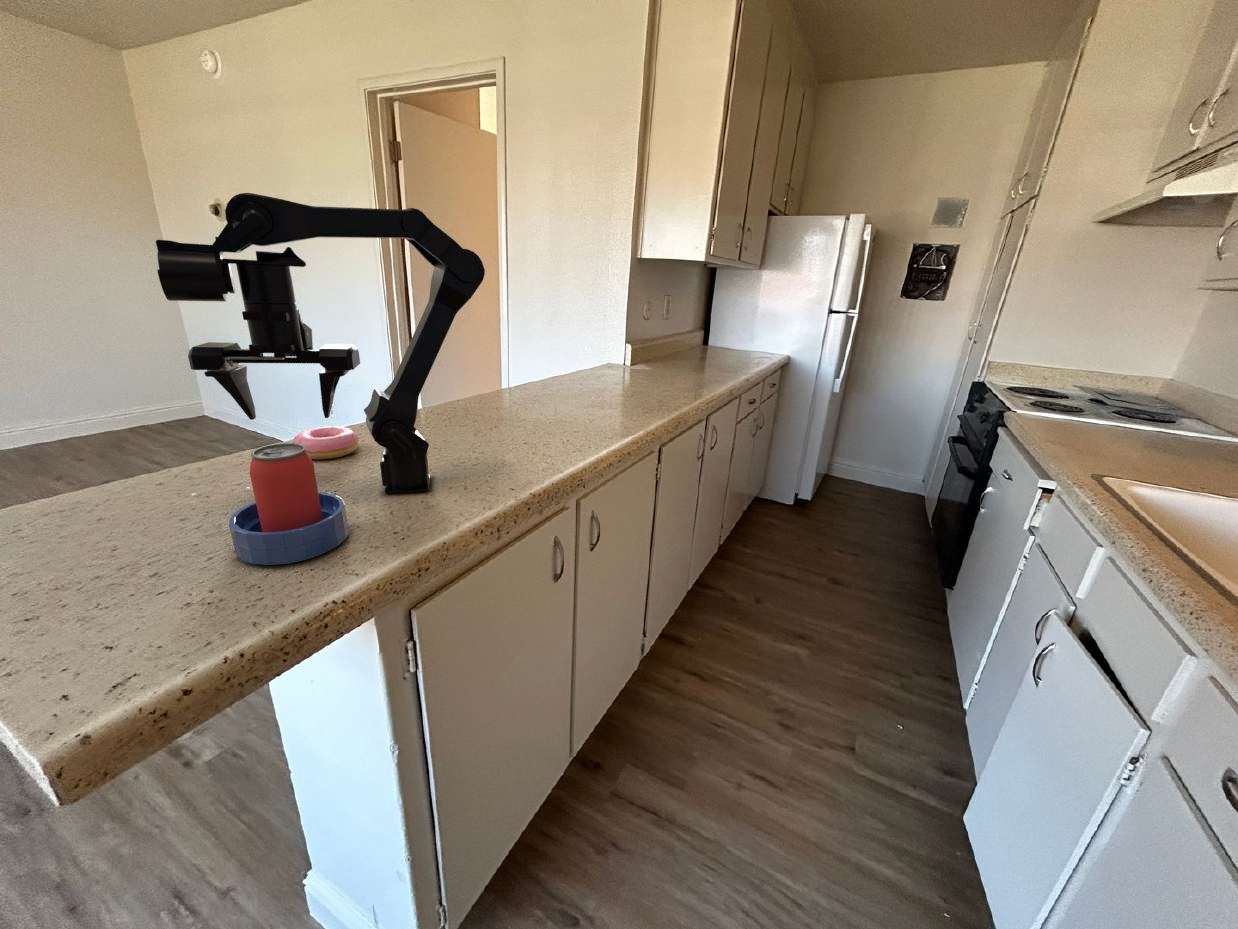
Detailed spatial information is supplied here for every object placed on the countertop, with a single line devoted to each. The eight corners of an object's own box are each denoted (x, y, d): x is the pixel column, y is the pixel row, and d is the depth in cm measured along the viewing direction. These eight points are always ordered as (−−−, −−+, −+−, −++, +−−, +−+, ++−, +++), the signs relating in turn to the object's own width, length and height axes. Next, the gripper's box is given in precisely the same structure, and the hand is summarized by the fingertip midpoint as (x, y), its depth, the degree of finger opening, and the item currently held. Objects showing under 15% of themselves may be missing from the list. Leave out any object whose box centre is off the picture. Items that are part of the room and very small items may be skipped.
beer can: (282, 526, 68) (265, 441, 64) (334, 527, 68) (320, 442, 64) (253, 551, 62) (232, 459, 58) (310, 552, 62) (293, 460, 58)
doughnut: (352, 461, 93) (349, 439, 91) (284, 463, 90) (280, 440, 89) (365, 442, 103) (363, 422, 101) (305, 443, 100) (301, 423, 99)
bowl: (356, 517, 72) (352, 488, 71) (337, 562, 61) (332, 529, 60) (257, 525, 69) (251, 494, 67) (219, 573, 58) (210, 538, 56)
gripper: (360, 301, 76) (372, 403, 82) (213, 296, 71) (236, 405, 76) (344, 306, 66) (359, 422, 72) (172, 301, 61) (202, 426, 66)
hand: (290, 418), depth 72 cm, fingers open, 9 cm apart
